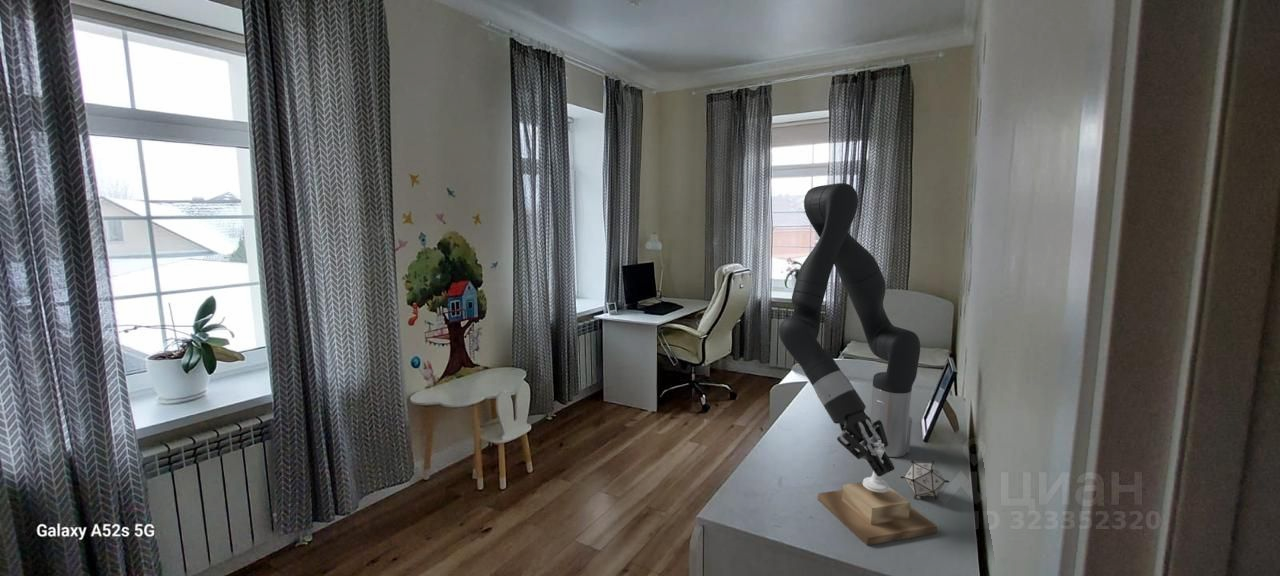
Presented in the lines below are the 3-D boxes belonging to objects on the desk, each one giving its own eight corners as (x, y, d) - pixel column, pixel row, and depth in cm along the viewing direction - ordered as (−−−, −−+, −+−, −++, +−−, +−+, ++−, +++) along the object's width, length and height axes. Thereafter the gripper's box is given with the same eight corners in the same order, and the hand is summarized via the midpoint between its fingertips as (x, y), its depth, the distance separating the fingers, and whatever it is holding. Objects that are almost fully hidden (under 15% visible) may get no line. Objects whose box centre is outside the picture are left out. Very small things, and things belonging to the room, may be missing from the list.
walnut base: (879, 490, 117) (881, 470, 116) (936, 532, 102) (938, 509, 101) (817, 499, 113) (819, 478, 112) (866, 545, 98) (868, 521, 97)
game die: (928, 515, 114) (947, 497, 107) (891, 492, 118) (906, 473, 111) (940, 484, 119) (959, 465, 112) (904, 463, 123) (919, 443, 116)
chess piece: (891, 494, 104) (896, 447, 102) (865, 491, 105) (869, 444, 103) (885, 481, 109) (889, 436, 107) (860, 478, 110) (864, 434, 108)
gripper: (830, 394, 106) (881, 476, 98) (868, 382, 114) (919, 457, 106) (807, 410, 111) (853, 489, 103) (845, 398, 119) (891, 470, 111)
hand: (886, 472), depth 104 cm, fingers closed on chess piece
